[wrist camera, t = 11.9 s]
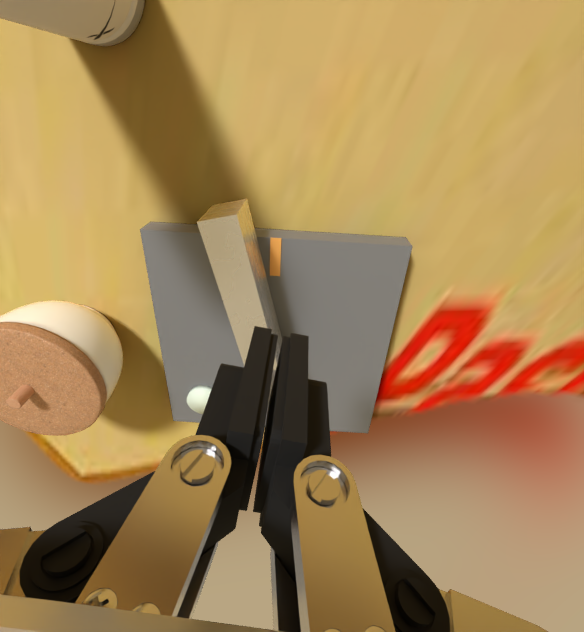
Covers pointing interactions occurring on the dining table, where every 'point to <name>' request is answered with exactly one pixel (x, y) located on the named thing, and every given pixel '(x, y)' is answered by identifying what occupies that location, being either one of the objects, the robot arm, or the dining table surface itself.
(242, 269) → the light grey rectangular bar
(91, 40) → the travel mug
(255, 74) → the dining table surface
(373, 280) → the base
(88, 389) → the lidded jar
